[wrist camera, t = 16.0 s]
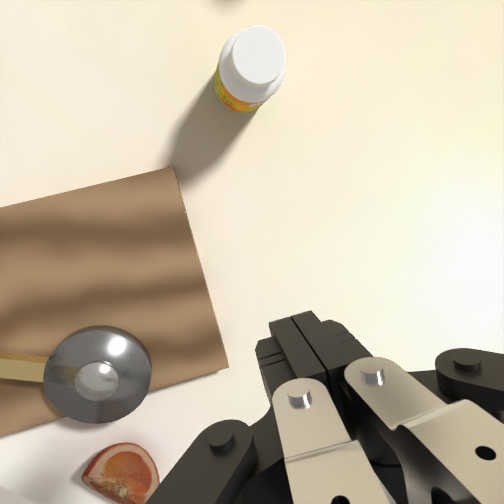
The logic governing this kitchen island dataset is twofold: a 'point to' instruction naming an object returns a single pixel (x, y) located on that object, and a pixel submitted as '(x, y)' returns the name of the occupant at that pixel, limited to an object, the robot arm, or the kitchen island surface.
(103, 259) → the levelling board
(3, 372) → the grey and tan lever
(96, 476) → the fruit slice
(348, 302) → the kitchen island surface
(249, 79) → the supplement bottle
